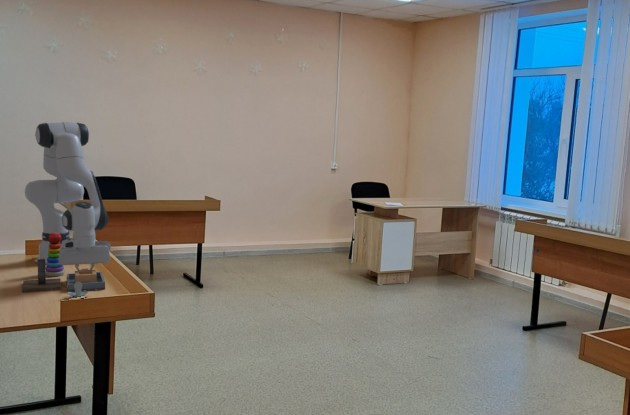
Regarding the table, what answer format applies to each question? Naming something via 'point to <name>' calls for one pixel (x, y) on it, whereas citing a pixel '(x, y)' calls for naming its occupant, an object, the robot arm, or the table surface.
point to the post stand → (41, 281)
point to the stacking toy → (54, 256)
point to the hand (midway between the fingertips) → (84, 274)
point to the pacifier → (77, 291)
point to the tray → (86, 283)
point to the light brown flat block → (85, 275)
